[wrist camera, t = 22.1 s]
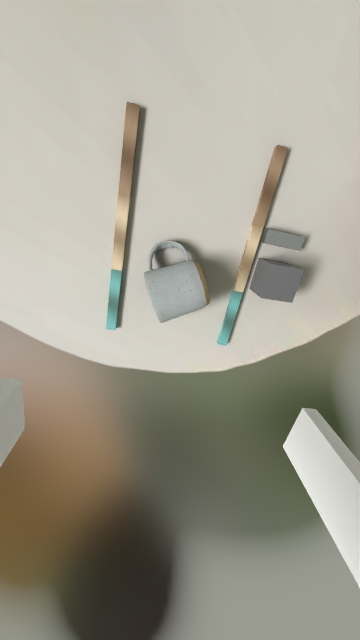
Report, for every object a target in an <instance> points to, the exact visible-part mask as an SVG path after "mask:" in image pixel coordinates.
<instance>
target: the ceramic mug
mask: <svg viewBox="0 0 360 640" xmlns="http://www.w3.org/2000/svg"><path fill="white" fill-rule="evenodd" d="M173 247H177V248H178V249H180V250H181V251H182V253H183V254H184V256H185V258H186V261H184V262H180V263H177V264H174V265H170V266H166V267H163V268H159V269H155V270H153V269H152V258H153V255H154V253H155V252H156V251H157V250H159V249H164V248H173ZM148 264H149V271H148V272H145V273H144V280H145V284H146V287H147V290H148V294H149V297H150V300H151V303H152V306H153V308H154V311H155V313H156V316H157V319H158V320H159V322H160V323H163V322H166V321H168V320H171V319H174V318H177V317H179V316H182V315H185V314H187V313H190V312H193V311H196V310H199V309H201V308H203V307H205V306H207V305H208V304H209V302H210V293H209V289H208V285H207V282H206V278H205V275H204V273H203V270H202V268H201V266H200V264H199V263H198V262H196V261H194V260H193V261H191V260H189V257H188V253H187V252H186V250H185V249H184V247H183V246H182V245H181V244H179V243H177V242H175V241H163V242H160V243H158V244H156V245H155V246H154V247H153V248H152V250H151V252H150V255H149V260H148Z"/></svg>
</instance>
